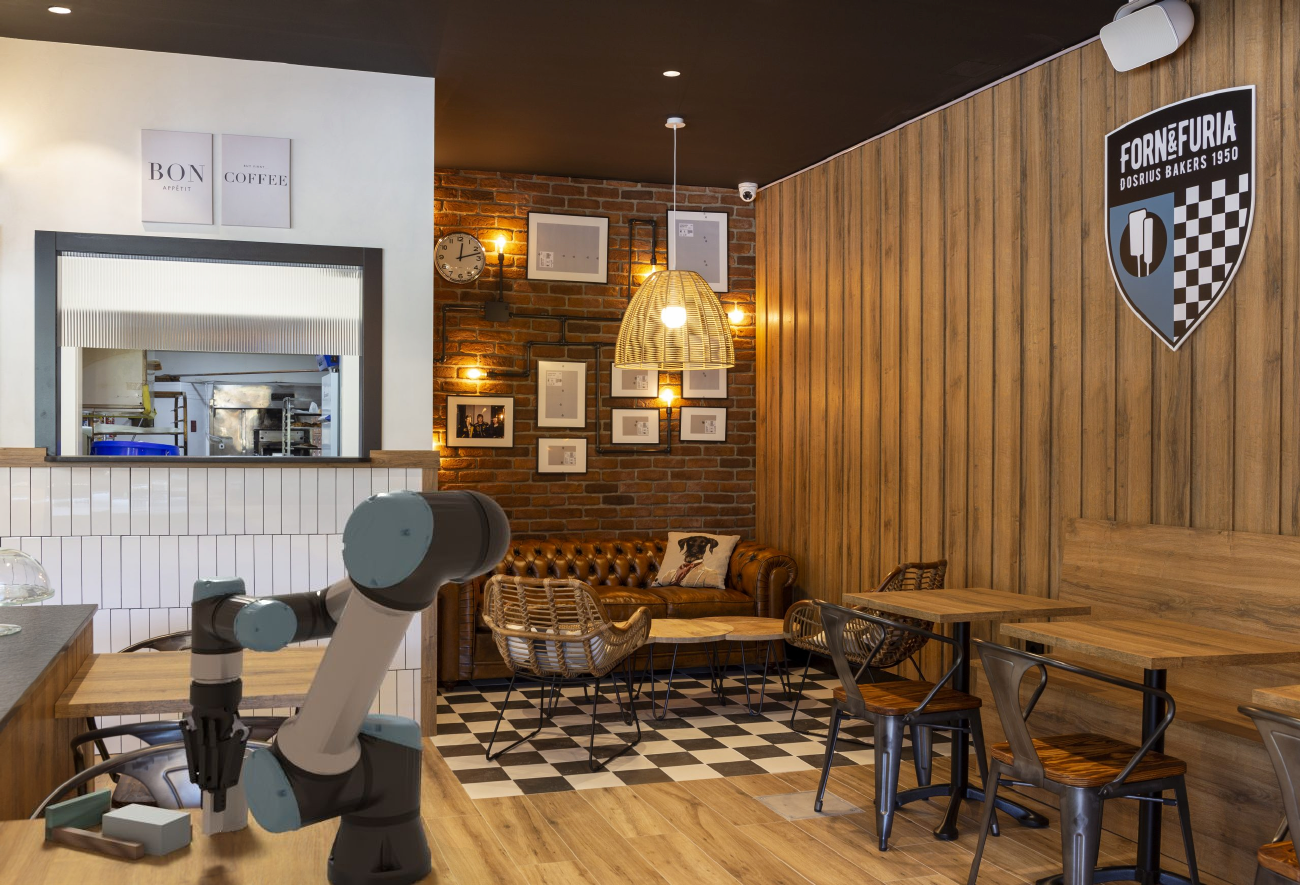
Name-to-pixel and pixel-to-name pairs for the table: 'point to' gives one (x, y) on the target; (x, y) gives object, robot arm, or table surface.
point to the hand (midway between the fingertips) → (212, 831)
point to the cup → (236, 804)
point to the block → (149, 827)
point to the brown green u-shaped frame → (88, 825)
